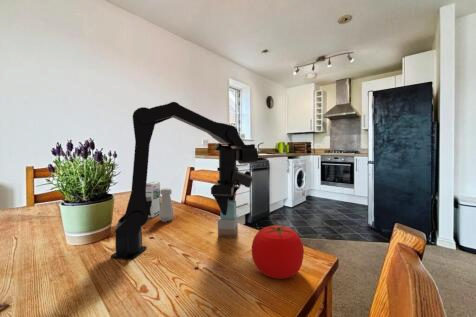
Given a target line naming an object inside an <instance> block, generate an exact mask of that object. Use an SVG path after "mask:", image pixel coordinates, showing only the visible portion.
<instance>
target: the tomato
mask: <svg viewBox="0 0 476 317" xmlns="http://www.w3.org/2000/svg"><path fill="white" fill-rule="evenodd" d="M304 249H305V248H304V244H303V241H302V240H301V237H300V236H299V234H298V233H297V232H296V231H294V229H292V228H290V227H287V226H285V225H280V224H278V225H277V224H276V225H269V226H268V225H267V226H265V227H263V228H261V229H259V230H258V232H257V233H256V234H255V236H254V237H253V239H252V245H251V257H252V260H253V262H254V265H255V266H256V268H257V269H258V270H259V272H261V274H264V275H265V276H267V277H268V278H269V277H270V278H272V279H275V280H276V279H277V280H283V279H284V280H285V279H288V278H291V277H293V276H295V275H296V274H297V273H298V272H299V271H300V270H301V267H302V264H303V260H304V251H305V250H304Z"/></svg>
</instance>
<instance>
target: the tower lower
mask: <svg viewBox="0 0 476 317" xmlns="http://www.w3.org/2000/svg"><path fill="white" fill-rule="evenodd" d="M238 226H239V224H237V226H236V228H235V229H234V230H233V229H218V228H217V237H218V238H225V239H235V238H236V237H237V234H238V232H239V230H238V228H239V227H238Z"/></svg>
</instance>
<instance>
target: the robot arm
mask: <svg viewBox="0 0 476 317" xmlns="http://www.w3.org/2000/svg"><path fill="white" fill-rule="evenodd" d="M171 119H176V120H178V121H180V122H182V123H185V124H187V125H188V126H191V127H193V128H196V129H197V130H200V131H203V132H205V133H207V135H209V136H210V137H211V138H212V139H214V140H215V141H217V142H219V143H217V144H215V146H214V147H213V148H212V151H216V152H217V151H218V167H217V170H216V172H218V179H217V183H214V184H213V185H212V186H211V187H210V195H212V197H213V198H214V199H215V201H216V204H217V205H218V208H219V209H220V210H221V212H222V214H223V215H226V214H227V208H228V202H229V201H235V197H236V192H237V191H238V190H239V189H240V188H241V187H242V186H244V188H251V186H252V183H253V180H254V176H253V175H252V172H251V171H250V170H249V171H248V170H246V171H245V172H241V171H239V167H238V166H237V163H239V165H243V164H245V165H246V164H248V165H249V164H256V163H257V162H258V160H259V153H258V150H257V148H256V145H255V143H251V144H250V143H249V144H245V142H244V141H243V139H242V137H240V135H239V131H238V128H237V127H236V126H234V125H231V124H227V123H224V122H218V121H215V120H212V119H210V118H208V117H206V116H204V115H201V114H200V113H198V112H196V111H193V110H191V109H190V108H187V107H184V106H183V105H181V104H179V103H178V102H176V101H171V102H169V103H165V104H161V105H157V106H154V107H150V108H148V107H145V106H144V107H143V106H142V107H139V108H136V109H134V112H133V114H132V124H133V133H134V143H135V144H134V154H133V155H134V156H133V157H134V158H133V166H132V167H133V168H132V177H131V178H132V179H131V190H130V194H129V199H128V202H127V205H126V210H125V213H124V214H123V215H122V216H121V217H120V218H119V219H118V221H117V223H116V226H115V230H114V233H115V252H114V253H112V254H111V255H110V258H111V259H112V258H113V259H123V260H133V259H135V258H136V257H138V256H139V255H140V254H141V253H143V252H144V251H146V249H147V248H148V247H147V246H145V245H144V246H143V232H142V227H143V226H145V224H146V223H147V222H148V219H149V217H148V215H149V216H151V211H150V208H151V204H152V199H151V197H146V183H148V181H147V180H148V168H149V157H150V143H151V140H152V136H153V133H154V129H155V125H158V124H160V123H162V122H165V121H167V120H171ZM240 186H241V187H240Z"/></svg>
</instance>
